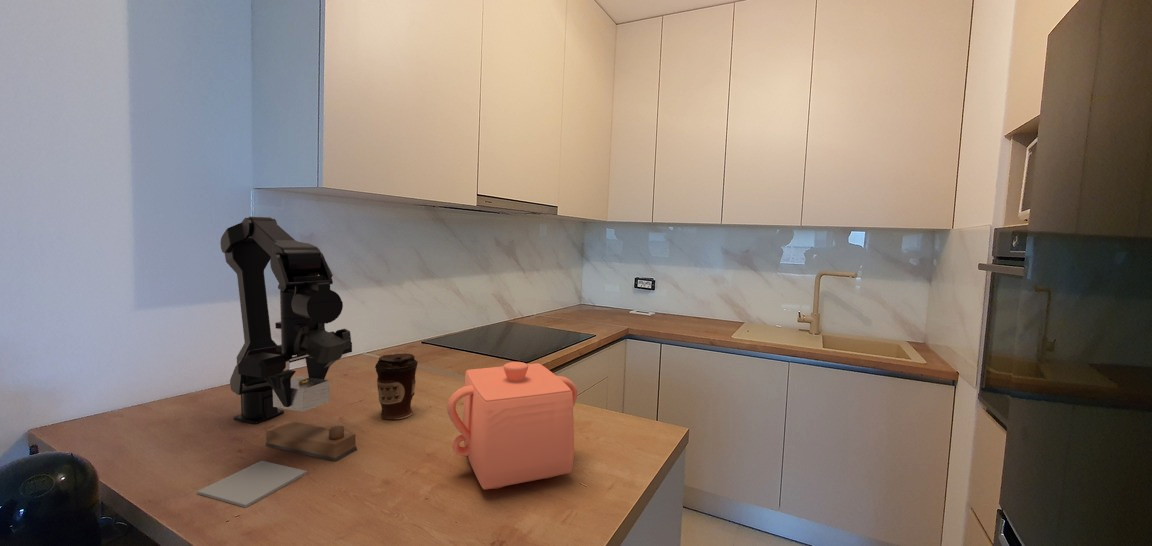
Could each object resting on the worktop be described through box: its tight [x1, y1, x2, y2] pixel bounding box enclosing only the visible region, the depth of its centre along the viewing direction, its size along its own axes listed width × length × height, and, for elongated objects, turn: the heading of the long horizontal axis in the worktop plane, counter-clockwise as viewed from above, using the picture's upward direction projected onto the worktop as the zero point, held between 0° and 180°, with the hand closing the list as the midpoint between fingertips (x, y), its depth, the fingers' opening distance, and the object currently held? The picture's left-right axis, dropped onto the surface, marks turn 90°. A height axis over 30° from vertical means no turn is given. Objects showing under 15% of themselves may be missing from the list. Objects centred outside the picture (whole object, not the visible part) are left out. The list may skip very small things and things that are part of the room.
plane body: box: [265, 420, 358, 462], centre depth 83 cm, size 16×5×5 cm, turn 72°
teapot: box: [446, 361, 578, 491], centre depth 81 cm, size 25×23×18 cm
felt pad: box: [196, 460, 308, 508], centre depth 71 cm, size 10×10×1 cm
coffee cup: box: [374, 353, 419, 420], centre depth 99 cm, size 9×8×13 cm
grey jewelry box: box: [273, 375, 331, 413], centre depth 83 cm, size 7×6×5 cm
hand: (301, 401), depth 83 cm, fingers closed on grey jewelry box, 6 cm apart
